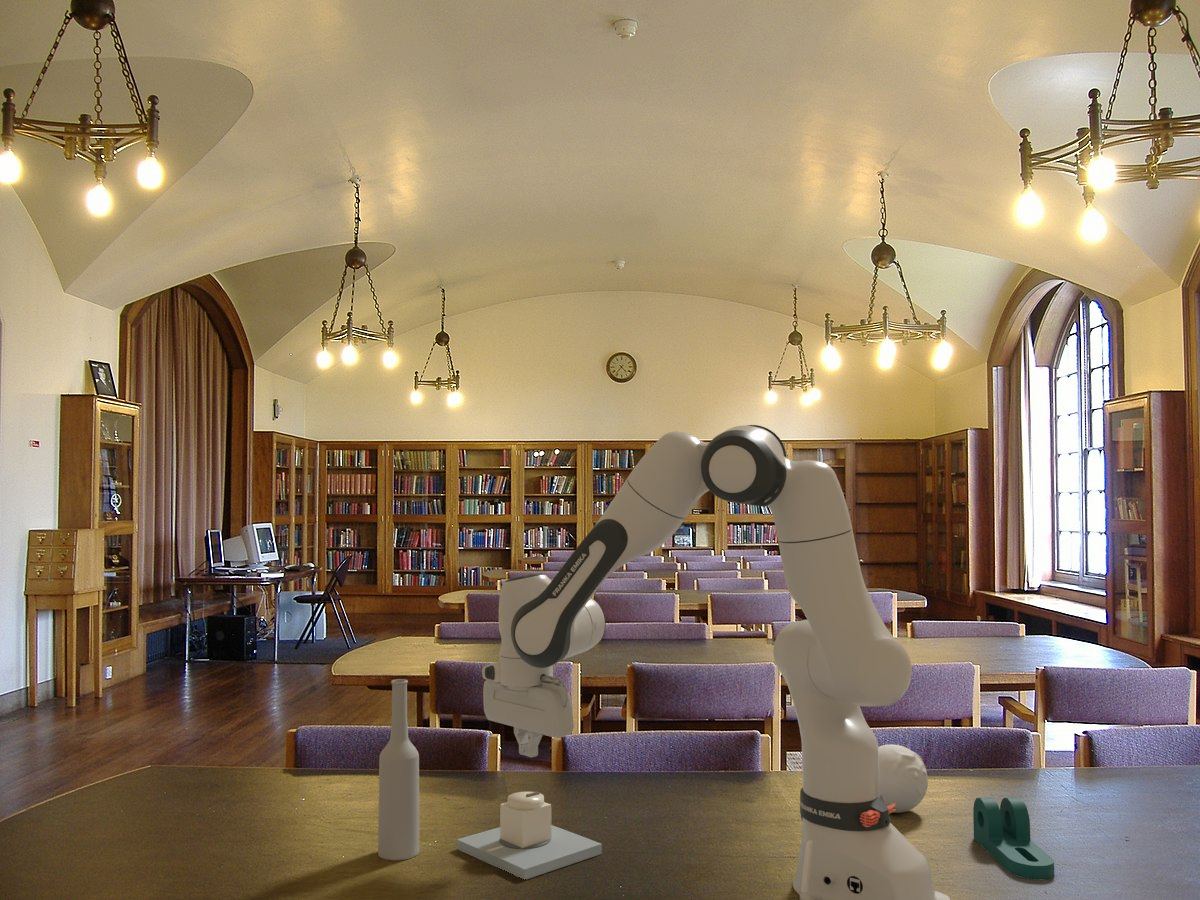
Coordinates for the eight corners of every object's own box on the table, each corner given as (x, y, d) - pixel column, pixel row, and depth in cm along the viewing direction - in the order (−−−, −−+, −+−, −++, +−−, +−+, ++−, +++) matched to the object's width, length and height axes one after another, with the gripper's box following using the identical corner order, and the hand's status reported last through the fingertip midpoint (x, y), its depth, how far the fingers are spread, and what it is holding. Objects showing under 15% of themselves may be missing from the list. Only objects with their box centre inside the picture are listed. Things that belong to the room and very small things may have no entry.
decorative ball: (903, 826, 174) (902, 757, 175) (847, 809, 183) (846, 744, 184) (941, 812, 182) (940, 746, 182) (885, 797, 191) (884, 734, 192)
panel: (601, 853, 161) (601, 812, 162) (524, 880, 151) (524, 835, 151) (532, 826, 175) (532, 788, 175) (456, 849, 164) (457, 808, 164)
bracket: (973, 839, 168) (972, 792, 168) (1013, 839, 168) (1012, 792, 168) (1017, 881, 150) (1016, 828, 150) (1062, 881, 150) (1061, 828, 150)
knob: (522, 848, 159) (522, 803, 160) (500, 838, 164) (500, 794, 164) (551, 839, 163) (551, 795, 164) (528, 830, 168) (528, 787, 168)
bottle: (370, 853, 162) (371, 680, 163) (404, 843, 167) (405, 675, 168) (392, 864, 157) (393, 686, 159) (427, 853, 162) (427, 680, 163)
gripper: (581, 676, 159) (584, 763, 159) (505, 662, 175) (507, 741, 174) (551, 682, 155) (553, 771, 155) (476, 667, 170) (478, 748, 170)
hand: (528, 755), depth 165 cm, fingers closed
